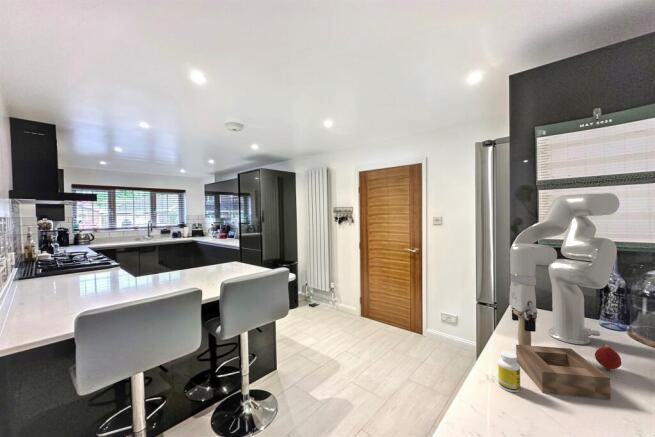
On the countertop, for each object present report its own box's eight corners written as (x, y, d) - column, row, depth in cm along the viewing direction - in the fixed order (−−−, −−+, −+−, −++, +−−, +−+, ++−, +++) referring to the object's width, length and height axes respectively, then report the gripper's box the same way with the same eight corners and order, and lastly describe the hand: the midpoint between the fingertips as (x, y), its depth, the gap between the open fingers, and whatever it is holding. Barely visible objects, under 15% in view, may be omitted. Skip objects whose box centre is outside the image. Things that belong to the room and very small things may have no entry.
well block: (571, 366, 87) (570, 348, 87) (610, 399, 72) (610, 377, 72) (516, 361, 91) (516, 344, 91) (542, 392, 75) (541, 371, 75)
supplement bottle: (521, 395, 75) (520, 361, 74) (498, 389, 77) (497, 356, 77) (519, 384, 79) (518, 352, 79) (498, 379, 82) (497, 348, 82)
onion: (613, 366, 87) (613, 342, 87) (626, 376, 81) (626, 350, 81) (591, 363, 89) (590, 339, 89) (602, 373, 83) (601, 348, 83)
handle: (531, 357, 93) (530, 315, 93) (511, 349, 99) (510, 310, 99) (538, 353, 96) (537, 312, 96) (518, 346, 101) (517, 307, 101)
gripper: (501, 273, 106) (501, 316, 106) (522, 284, 90) (522, 334, 90) (522, 274, 105) (523, 317, 105) (548, 285, 88) (548, 336, 88)
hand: (523, 325), depth 97 cm, fingers open, 9 cm apart
